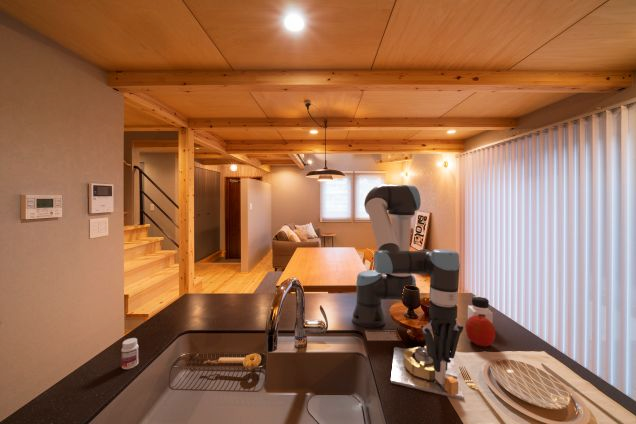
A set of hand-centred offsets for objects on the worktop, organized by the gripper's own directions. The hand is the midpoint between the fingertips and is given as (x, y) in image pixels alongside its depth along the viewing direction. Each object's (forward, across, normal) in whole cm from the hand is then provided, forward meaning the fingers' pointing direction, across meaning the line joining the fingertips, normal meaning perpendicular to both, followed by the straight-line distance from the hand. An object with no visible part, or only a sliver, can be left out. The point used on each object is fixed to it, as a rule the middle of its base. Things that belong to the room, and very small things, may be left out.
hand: (439, 380), depth 76 cm
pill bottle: (+5, -96, +32) cm, 101 cm away
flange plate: (+3, +1, +9) cm, 10 cm away
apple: (+3, +34, +20) cm, 39 cm away
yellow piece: (+2, +1, +6) cm, 6 cm away
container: (+2, +46, +33) cm, 57 cm away
